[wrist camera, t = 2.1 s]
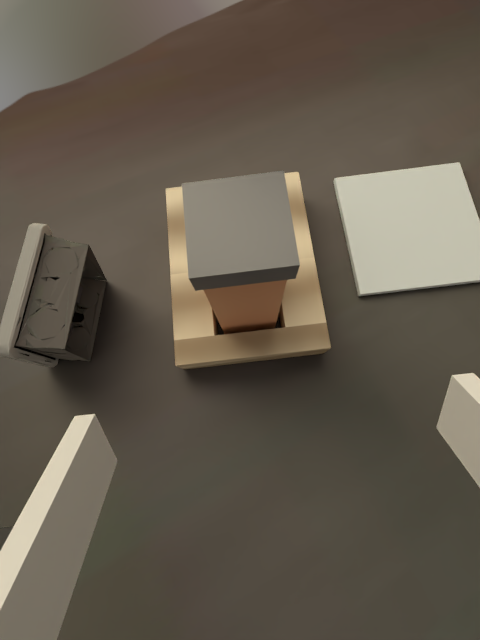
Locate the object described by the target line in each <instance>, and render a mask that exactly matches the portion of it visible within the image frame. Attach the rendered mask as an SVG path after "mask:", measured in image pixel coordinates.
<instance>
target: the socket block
mask: <svg viewBox="0 0 480 640" xmlns="http://www.w3.org/2000/svg"><path fill="white" fill-rule="evenodd" d="M284 175H285V180H286V186H287V192H288V198H289V204H290V210H291V215H292V221H293V227H294V233H295V239H296V245H297V250H298V256H299V262H300V267H299V270H298V273H297V276H296V279H289V280H287V282H286V286H285V290H284V294H283V298H282V302H281V306H280V310H279V316H280V323H281V328H275V329H267V330H258V331H250V332H241V333H233V334H224V335H218V328H217V318H216V315H215V313H214V311H213V309H212V307H211V305H210V303H209V301H208V298H207V296H206V294H205V292H204V290H197V291H195V289H194V287H193V286H192V284H191V282H190V280H189V277H188V263H187V249H186V235H185V221H184V207H183V193H182V187H175V188H167V189H166V202H167V220H168V239H169V257H170V275H171V293H172V311H173V330H174V348H175V366H177V367H180V368H182V369H184V370H185V369H193V368H202V367H211V366H219V365H228V364H237V363H245V362H254V361H263V360H272V359H280V358H289V357H298V356H306V355H315V354H323V353H324V352H326V351H327V350H329V349H330V348H331V345H330V340H329V334H328V329H327V323H326V318H325V313H324V307H323V302H322V296H321V291H320V286H319V280H318V275H317V269H316V264H315V259H314V253H313V248H312V242H311V237H310V232H309V226H308V221H307V215H306V210H305V205H304V199H303V194H302V189H301V183H300V178H299V172H292V173H285V174H284Z"/></svg>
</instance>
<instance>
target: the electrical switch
mask: <svg viewBox="0 0 480 640" xmlns="http://www.w3.org/2000/svg"><path fill="white" fill-rule="evenodd" d="M51 234H52V232H51V230H50V228H49V227H48V225H47V224H38V223H33V224H31V225H29V227H28V230H27V234H26V237H25V241H24V244H23V248H22V251H21V255H20V258H19V262H18V265H17V269H16V272H15V276H14V279H13V283H12V286H11V290H10V293H9V297H8V300H7V304H6V307H5V311H4V314H3V318H2V321H1V325H0V356H2V357H7V358H11V359H15V360H19V361H23V362H28V363H32V364H36V365H40V366H46V367H52V368H53V367H54V366H56V365H57V364H58V360H59V359H65V360H82V361H90V360H91V355H92V350H93V345H94V340H95V335H96V330H97V325H98V320H99V315H100V311H101V306H102V301H103V296H104V291H105V286H106V281H107V280H106V278H105V276H104V274H103V272H102V270H101V268H100V266H99V264H98V262H97V260H96V258H95V256H94V254H93V252H92V250H91V248H90V246H89V245H87V244H81V243H75V242H70V241H67V240H65V239H62V238H55V237H52V235H51ZM95 279H96V280H95ZM101 280H105V281H101ZM80 282H81V284H80ZM89 287H90V288H89ZM98 296H99V297H98ZM76 304H77V305H78V306H80V307H84V308H89V309H82V308H79V307H77V305H76ZM95 304H96V305H95ZM94 305H95V306H94ZM93 306H94V307H93ZM75 312H77V313H80V314H83V315H84V319H83V321H81V322H72V319H73V316H74V313H75ZM76 326H82V327H79V328H73V327H76ZM83 327H84V328H85V329H84V328H83ZM90 335H91V337H90ZM78 349H79V350H78Z"/></svg>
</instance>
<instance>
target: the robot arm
mask: <svg viewBox="0 0 480 640" xmlns="http://www.w3.org/2000/svg"><path fill="white" fill-rule="evenodd" d="M436 428H437V429H438V431H439V432H440V434H441V435H442V436H443V438H444V439H445V440H446V442H447V443H448V445H449V446H450V447H451V449H452V450H453V451H454V453H455V454H456V456H457V457H458V458H459V460H460V461H461V462H462V464H463V465H464V467H465V468H466V469H467V471H468V472H469V473H470V475H471V476H472V478H473V479H474V480H475V482H476V483H477V484H478V486H479V487H480V379H479V378H478V377H477V376H476V375H475V374H474V373H469V374H460V375H452V377H451V380H450V383H449V387H448V390H447V394H446V397H445V400H444V404H443V407H442V410H441V414H440V417H439V420H438V424H437V427H436ZM116 464H117V459H116V456H115V454H114V452H113V450H112V448H111V446H110V444H109V442H108V440H107V438H106V436H105V434H104V432H103V429H102V427H101V425H100V423H99V421H98V419H97V417H96V415H95V414H89V415H80V416H74V418H73V420H72V422H71V424H70V426H69V427H68V429H67V431H66V433H65V435H64V436H63V438H62V440H61V442H60V444H59V445H58V447H57V449H56V451H55V453H54V455H53V456H52V458H51V460H50V462H49V464H48V465H47V467H46V469H45V471H44V473H43V474H42V476H41V478H40V480H39V482H38V483H37V485H36V487H35V489H34V491H33V493H32V494H31V496H30V498H29V500H28V502H27V503H26V505H25V507H24V509H23V511H22V512H21V514H20V516H19V518H18V520H17V522H16V523H15V525H14V527H4V528H0V640H57V637H58V635H59V632H60V629H61V626H62V623H63V620H64V617H65V614H66V611H67V608H68V605H69V602H70V599H71V596H72V593H73V591H74V588H75V585H76V582H77V579H78V576H79V573H80V570H81V567H82V564H83V561H84V558H85V555H86V552H87V549H88V546H89V544H90V541H91V538H92V535H93V532H94V529H95V526H96V523H97V520H98V517H99V514H100V511H101V508H102V505H103V502H104V500H105V497H106V494H107V491H108V488H109V485H110V482H111V479H112V476H113V473H114V470H115V467H116Z"/></svg>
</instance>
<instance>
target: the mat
mask: <svg viewBox="0 0 480 640" xmlns="http://www.w3.org/2000/svg"><path fill="white" fill-rule="evenodd" d="M333 183H334V187H335V192H336V196H337V201H338V206H339V210H340V215H341V219H342V224H343V229H344V233H345V238H346V242H347V247H348V252H349V256H350V261H351V265H352V270H353V275H354V279H355V284H356V289H357V293H358V296H367V295H375V294H383V293H392V292H400V291H409V290H417V289H426V288H434V287H443V286H451V285H459V284H468V283H476V282H480V220H479V217H478V215H477V212H476V209H475V206H474V203H473V200H472V197H471V194H470V191H469V189H468V186H467V183H466V180H465V177H464V174H463V171H462V168H461V165H460V163H459V162H458V163H451V164H443V165H435V166H427V167H419V168H411V169H403V170H395V171H387V172H380V173H372V174H364V175H356V176H348V177H340V178H335V179H334V182H333Z"/></svg>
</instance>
